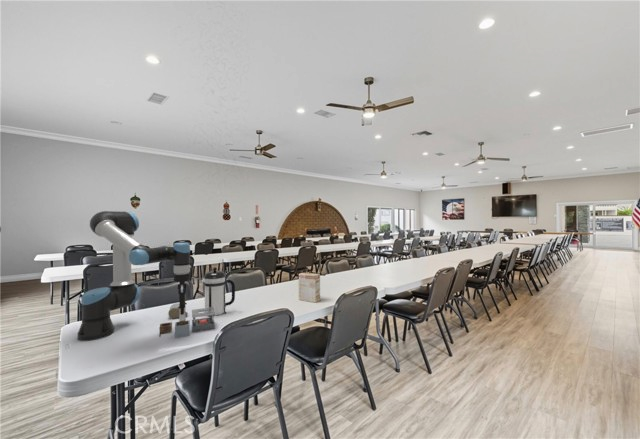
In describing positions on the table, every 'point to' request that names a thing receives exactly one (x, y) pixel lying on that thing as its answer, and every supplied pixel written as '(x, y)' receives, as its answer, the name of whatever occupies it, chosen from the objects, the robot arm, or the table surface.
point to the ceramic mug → (174, 311)
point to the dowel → (184, 320)
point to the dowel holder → (165, 328)
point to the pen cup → (182, 329)
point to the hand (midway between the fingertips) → (182, 319)
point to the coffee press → (216, 291)
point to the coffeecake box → (309, 287)
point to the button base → (210, 321)
